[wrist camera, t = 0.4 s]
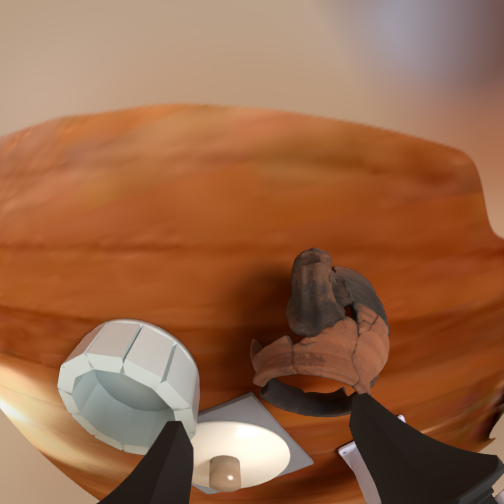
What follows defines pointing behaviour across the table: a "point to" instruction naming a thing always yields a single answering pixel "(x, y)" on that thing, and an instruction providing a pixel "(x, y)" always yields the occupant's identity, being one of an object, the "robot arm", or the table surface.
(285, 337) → the dark brown rounded loops
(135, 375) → the bowl
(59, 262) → the table surface
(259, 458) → the lid
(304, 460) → the mat
